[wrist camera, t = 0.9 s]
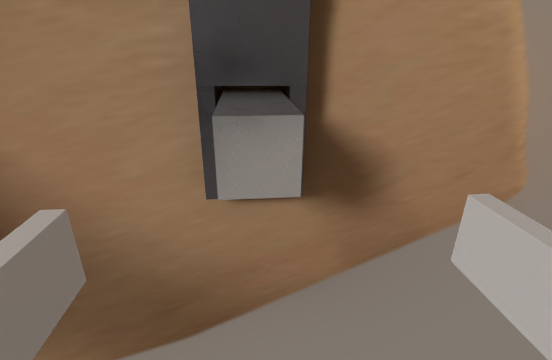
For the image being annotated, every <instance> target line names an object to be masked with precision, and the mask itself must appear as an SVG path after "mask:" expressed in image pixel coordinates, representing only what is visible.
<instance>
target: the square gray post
mask: <svg viewBox="0 0 552 360" xmlns="http://www.w3.org/2000/svg"><path fill="white" fill-rule="evenodd" d="M212 123H213V137H214V150H215V164H216V178H217V192H218V200H232V199H258V198H283V197H301V175H302V151H303V126H304V115H303V114H302V113H301V111H300V110H299V109H298V108H297V107H296V106H295V105H294V104H293V103H292V102H291V101H290V100H289V99H288V98H287V97H286V96H285V95H284V94H283V93H282V92H281V91H280V90H223V93H222V95H221V97H220V99H219V102H218V104H217V106H216V108H215V111H214V113H213V115H212Z"/></svg>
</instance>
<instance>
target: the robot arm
mask: <svg viewBox="0 0 552 360" xmlns="http://www.w3.org/2000/svg"><path fill="white" fill-rule="evenodd" d="M451 262H452V263H453V264H454V265H455V266H456V267H457V268H458V269H459V270H460V271H461V272H462V273H463V274H464V275H465V276H466V277H467V278H468V279H469V280H470V281H471V282H472V283H473V284H474V285H475V286H476V287H477V288H478V289H479V290H480V291H481V292H482V293H483V294H484V295H485V296H486V297H487V298H488V299H489V300H490V301H491V302H492V303H493V304H494V305H495V307H497V308H498V310H499V311H500V312H501V313H502V314H503V315H504V316H505V317H506V318H507V319H508V320H509V321H510V322H511V323H512V324H513V325H514V326H515V327H516V328H517V329H518V330H519V331H520V332H521V333H522V334H523V335H524V336H525V337H526V338H527V339H528V340H529V341H530V342H531V343H532V344H533V345H534V346H535V347H536V348H537V349H538V350H539V351H540V352H541V353H542V354H543V356H545V358H547V360H552V231H551V230H550V229H548V228H546V227H544V226H543V225H541V224H539V223H538V222H536V221H534V220H533V219H531V218H529V217H527V216H526V215H524V214H522V213H521V212H519V211H517V210H515V209H514V208H512V207H510V206H509V205H507V204H505V203H504V202H502V201H500V200H498V199H497V198H495V197H493V196H492V195H490V194H474V195H468V198H467V201H466V205H465V209H464V212H463V216H462V220H461V224H460V227H459V231H458V235H457V239H456V243H455V246H454V250H453V254H452V257H451ZM85 283H86V277H85V273H84V270H83V266H82V263H81V259H80V256H79V252H78V249H77V245H76V242H75V238H74V235H73V231H72V228H71V224H70V221H69V217H68V214H67V210H66V209H58V210H39V211H38V212H37V213H36V214H34V215H33V216H32V217H30V218H29V219H28V220H27V221H25V222H24V223H23V224H21V225H20V226H19V227H18V228H16V229H15V230H14V231H12V232H11V233H10V234H9V235H7V236H6V237H5V238H4V239H2V240H1V241H0V360H33V359H34V357H35V356H36V354H37V353H38V351H39V350H40V348H41V347H42V345H43V344H44V343H45V341H46V340H47V338H48V337H49V335H50V334H51V332H52V331H53V329H54V328H55V326H56V325H57V323H58V322H59V321H60V319H61V318H62V316H63V315H64V313H65V312H66V310H67V309H68V307H69V306H70V304H71V303H72V302H73V300H74V299H75V297H76V296H77V294H78V293H79V291H80V290H81V288H82V287H83V285H84V284H85Z"/></svg>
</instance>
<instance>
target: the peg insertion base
mask: <svg viewBox="0 0 552 360" xmlns="http://www.w3.org/2000/svg"><path fill="white" fill-rule="evenodd" d="M310 4H311V0H189V8H190V19H191V31H192V42H193V53H194V65H195V76H196V88H197V99H198V110H199V122H200V133H201V144H202V156H203V167H204V178H205V190H206V199H218V192H217V178H216V164H215V150H214V137H213V123H212V115H213V113H214V111H215V108H216V106H217V104H218V101H217V86H286V97H287V98H288V99H289V100H290V101H291V102H292V103H293V104H294V105H295V106H296V107H297V108H298V109H299V110H300V111H301V113H302V114H303V115H304V126H303V151H302V175H301V196H302V189H303V165H304V142H305V119H306V96H307V73H308V50H309V27H310Z"/></svg>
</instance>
